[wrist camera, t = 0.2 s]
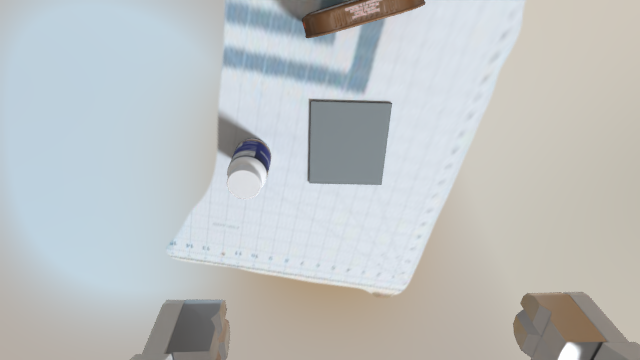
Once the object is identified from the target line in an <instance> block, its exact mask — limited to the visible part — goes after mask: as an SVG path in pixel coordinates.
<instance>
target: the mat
mask: <svg viewBox="0 0 640 360" xmlns="http://www.w3.org/2000/svg"><path fill="white" fill-rule="evenodd" d="M391 107H392V103H373V102H337V101H311V133H310V181H309V183H320V184H365V185H381V184H382V176H383V168H384V161H385V153H386V145H387V138H388V130H389V122H390V115H391Z"/></svg>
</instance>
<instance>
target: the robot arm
mask: <svg viewBox="0 0 640 360" xmlns="http://www.w3.org/2000/svg"><path fill="white" fill-rule="evenodd" d="M521 305H522V307H523V310H522V311H521V312H519V313H518V314H517V315H516V317H515V320H514V323H513V327H514V335H515V338H516V341H517V343H518V345H519V347H520V349H521V351H523V352H524V353H525V354H527V355H528V356H530V357H531V360H640V345H639V344H638V343H636V342H629V341H628V340H627V339H626V338H625V337H624V336H623V334H622V333H621V332H620V331H619V330H618V329H617V328H616V326H615V325H614V324H613V323H612V322H611V321H610V320H609V318H608V317H607V316H606V315H605V314H604V313H603V312H602V311H601V309H600V308H599V307H598V306H597V305H596V304H595V302H594V301H593V300H592V299H591V298H590V297H589V296H588V295H587V294H585V293H583V292H564V293H561V292H555V293H527V294H526V295H525V296H523V298H522V301H521ZM226 311H227V308H226V302H225V300H166V302H165V303H164V304H163V305H162V308H161V310H160V312H159V315H158V317H157V320H156V322H155V324H154V327H153V329H152V331H151V334H150V336H149V338H148V341H147V343H146V346H145V348H144V350H143V353H142V354H137V355H135V356H134V357H132V358H131V359H130V360H226V358H227V355H228V349H229V340H230V327H229V322H228V320H227V319H225V316H226Z"/></svg>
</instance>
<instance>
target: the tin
mask: <svg viewBox="0 0 640 360" xmlns="http://www.w3.org/2000/svg"><path fill="white" fill-rule="evenodd" d="M423 5H425V1H424V0H349V1H346V2H343V3H340V4H336V5H333V6H330V7H327V8H324V9H321V10H318V11H315V12H312V13H309V14H307V15H306V16H305V17H304V18H303V19H302V22H303V26H304V29H305V33H306V38H313V37H318V36H322V35H327V34H330V33H334V32H338V31H341V30H345V29H348V28H352V27H355V26H359V25H362V24H366V23H369V22H373V21H376V20H380V19H383V18H387V17H390V16H394V15H397V14H401V13H404V12H407V11H410V10H413V9H416V8H418V7H421V6H423Z"/></svg>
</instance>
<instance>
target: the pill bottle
mask: <svg viewBox="0 0 640 360" xmlns="http://www.w3.org/2000/svg"><path fill="white" fill-rule="evenodd" d="M270 161H271V152H270V149H269V147H268V146H267V145H266V144H265V143H264V142H262V141H260V140H258V139H247V140H244V141H242V142H241V143H240V144H239V145H238V146H237V148H236V150H235V152H234V155H233V157H232V160H231V162H230V165H229V167H228V171H227V175H228V180H227V187H228V189H229V191H230V192H231V194H233V195H234V196H235V197H237V198H240V199H250V198H253V197H255V196H256V195H257V194H258V193H259V191H260V189H261V187H262V186H263V185H264V184H265V182H266V179H267V175H268V170H269V166H270Z"/></svg>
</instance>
